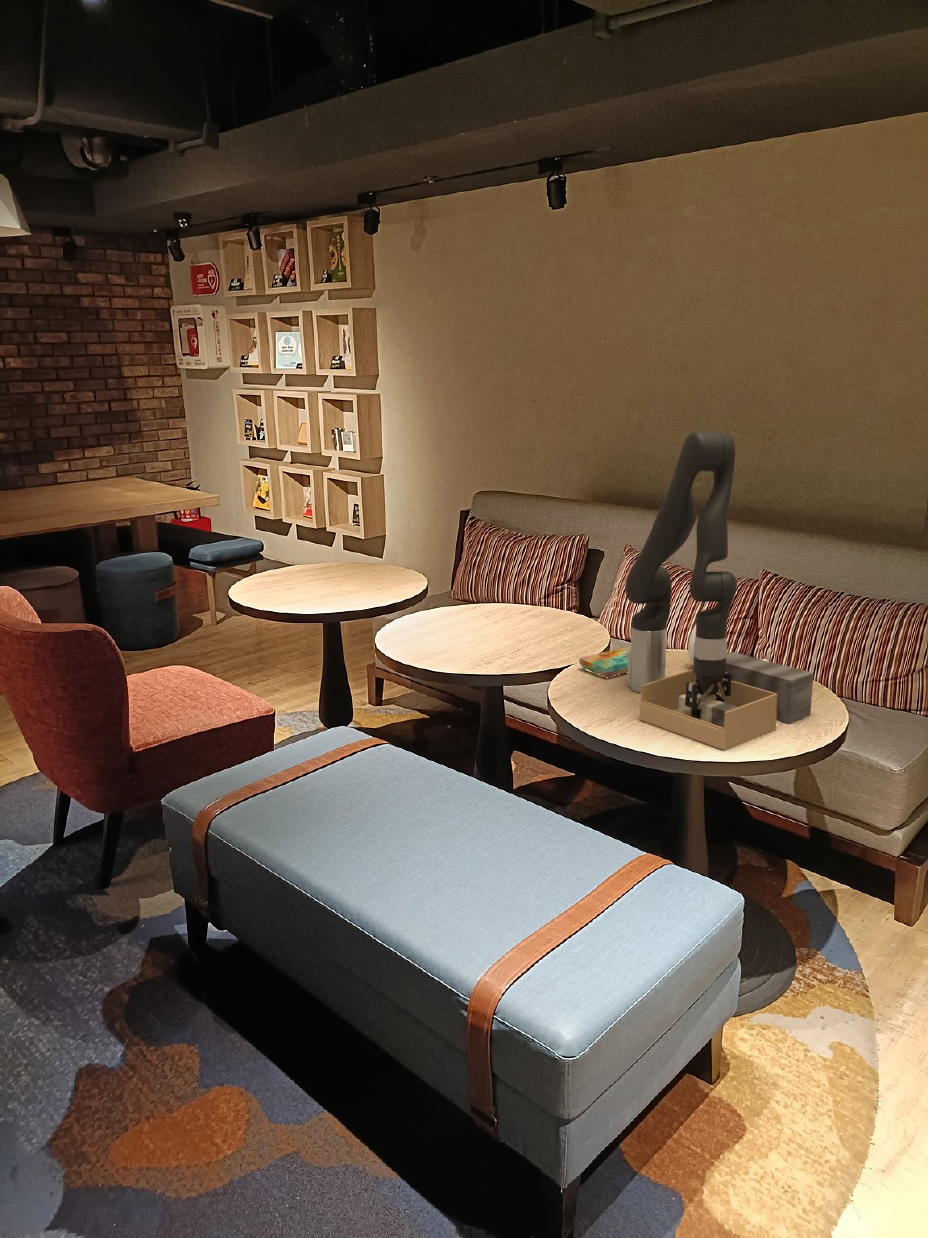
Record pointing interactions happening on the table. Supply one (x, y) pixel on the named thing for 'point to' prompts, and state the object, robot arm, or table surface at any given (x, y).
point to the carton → (739, 723)
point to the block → (707, 710)
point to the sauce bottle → (692, 645)
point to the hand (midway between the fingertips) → (707, 718)
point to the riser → (775, 684)
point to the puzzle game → (607, 662)
